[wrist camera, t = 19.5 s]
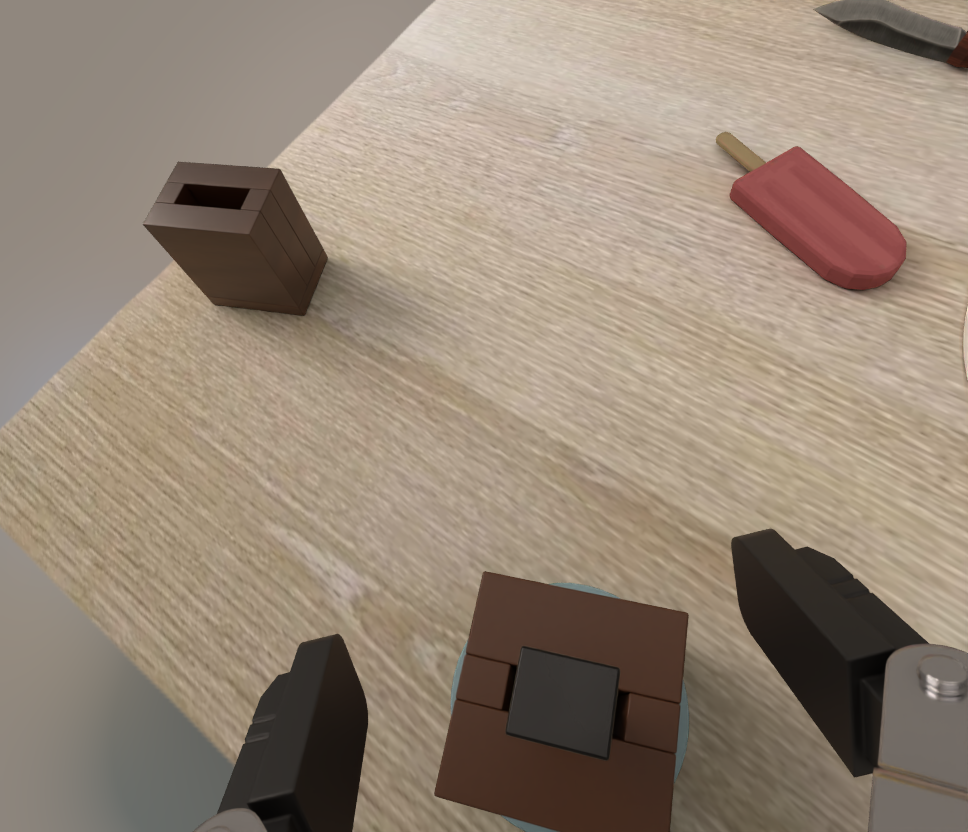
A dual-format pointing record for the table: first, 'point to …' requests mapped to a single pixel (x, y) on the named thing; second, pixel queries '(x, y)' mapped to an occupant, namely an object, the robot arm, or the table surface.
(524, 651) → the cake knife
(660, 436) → the table surface
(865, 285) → the popsicle
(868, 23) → the knife
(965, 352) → the plate stack
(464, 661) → the slotted wooden stand
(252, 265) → the knife block
